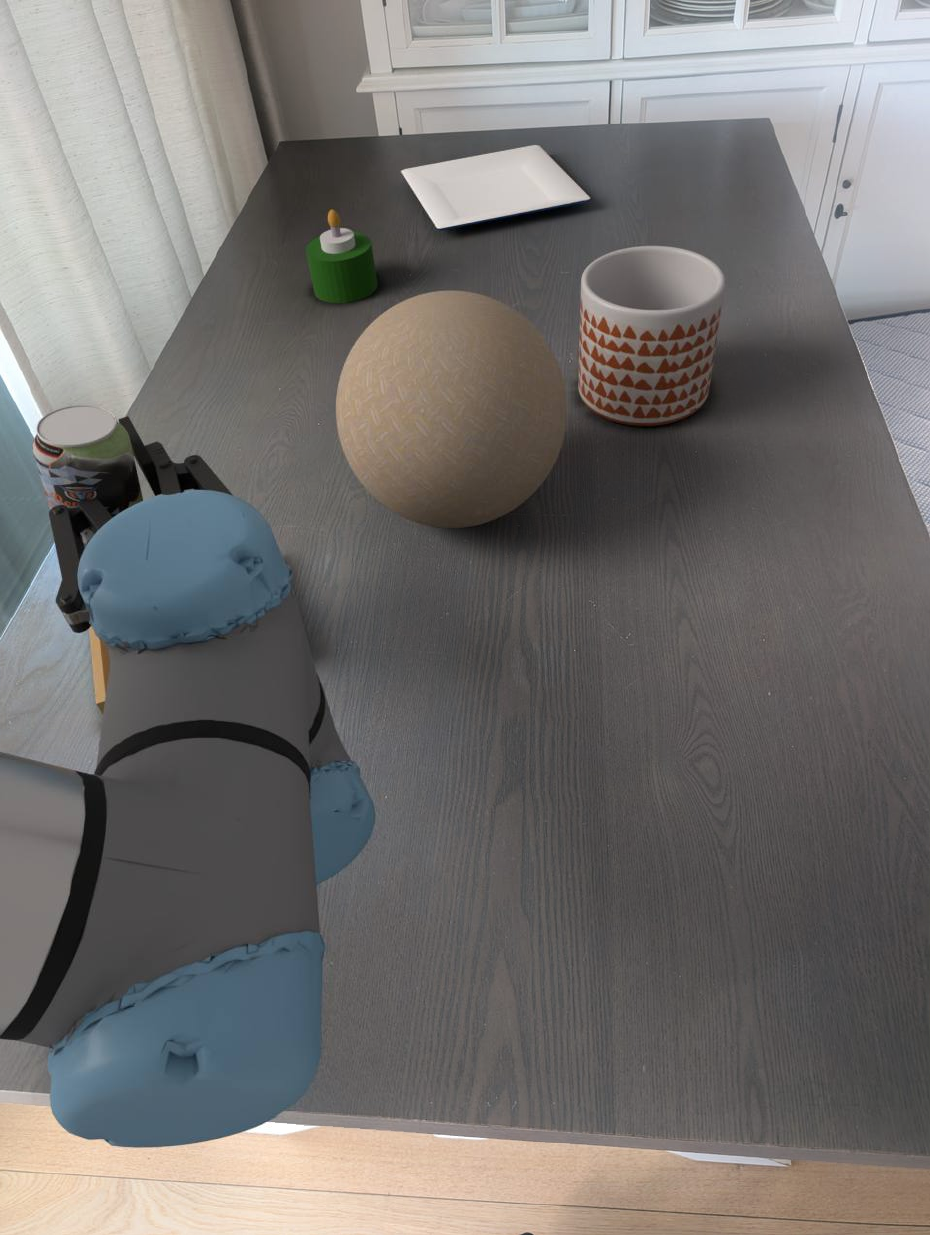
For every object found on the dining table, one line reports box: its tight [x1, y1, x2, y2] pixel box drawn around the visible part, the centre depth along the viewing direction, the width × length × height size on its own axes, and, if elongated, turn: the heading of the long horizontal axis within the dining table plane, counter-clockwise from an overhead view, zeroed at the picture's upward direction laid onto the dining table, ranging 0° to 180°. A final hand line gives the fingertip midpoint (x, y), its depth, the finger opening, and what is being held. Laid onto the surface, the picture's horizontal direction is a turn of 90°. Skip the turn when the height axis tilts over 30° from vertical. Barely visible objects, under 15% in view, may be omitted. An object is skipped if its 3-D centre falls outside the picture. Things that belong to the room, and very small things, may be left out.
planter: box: [578, 245, 726, 427], centre depth 91 cm, size 14×14×13 cm
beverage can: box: [32, 404, 144, 548], centre depth 62 cm, size 6×7×12 cm
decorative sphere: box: [335, 290, 568, 529], centre depth 78 cm, size 20×20×20 cm
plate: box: [400, 144, 591, 231], centre depth 132 cm, size 22×22×2 cm
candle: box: [305, 209, 378, 304], centre depth 113 cm, size 8×8×10 cm
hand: (104, 442), depth 65 cm, fingers closed on beverage can, 3 cm apart
